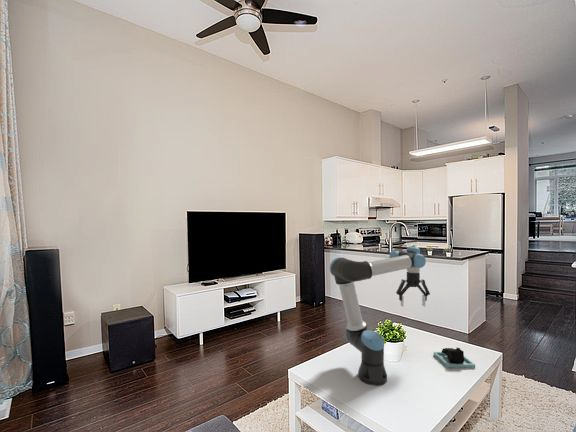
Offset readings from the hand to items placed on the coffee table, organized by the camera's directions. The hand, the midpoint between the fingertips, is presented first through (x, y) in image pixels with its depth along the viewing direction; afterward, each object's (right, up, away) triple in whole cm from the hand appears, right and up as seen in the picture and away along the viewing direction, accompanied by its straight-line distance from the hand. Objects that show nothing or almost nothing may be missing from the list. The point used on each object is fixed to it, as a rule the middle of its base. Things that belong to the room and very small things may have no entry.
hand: (412, 305), depth 187 cm
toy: (+21, -30, -5) cm, 37 cm away
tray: (+22, -31, -7) cm, 39 cm away
